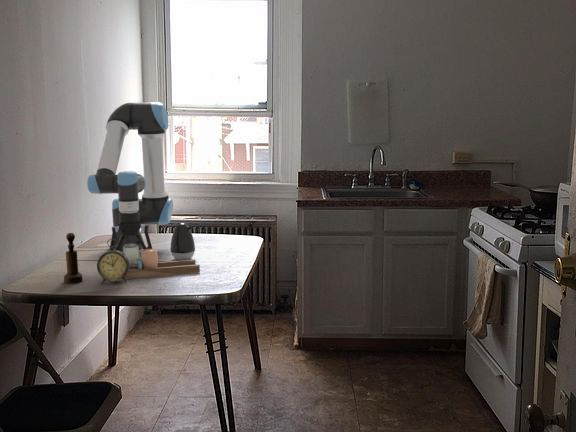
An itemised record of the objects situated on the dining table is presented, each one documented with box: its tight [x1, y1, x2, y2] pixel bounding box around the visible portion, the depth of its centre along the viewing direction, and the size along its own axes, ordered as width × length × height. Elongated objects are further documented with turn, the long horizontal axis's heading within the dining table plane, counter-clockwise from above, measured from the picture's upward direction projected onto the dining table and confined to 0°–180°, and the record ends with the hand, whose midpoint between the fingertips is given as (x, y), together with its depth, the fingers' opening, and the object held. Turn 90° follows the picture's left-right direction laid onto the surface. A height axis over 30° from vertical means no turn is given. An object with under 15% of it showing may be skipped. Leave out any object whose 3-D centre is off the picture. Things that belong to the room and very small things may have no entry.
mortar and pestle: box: [63, 232, 84, 284], centre depth 249 cm, size 7×6×18 cm
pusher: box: [129, 257, 142, 269], centre depth 258 cm, size 7×7×5 cm
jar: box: [122, 244, 140, 265], centre depth 268 cm, size 6×6×10 cm
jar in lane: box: [140, 248, 159, 269], centre depth 260 cm, size 6×6×9 cm
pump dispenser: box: [169, 222, 196, 261], centre depth 284 cm, size 10×10×15 cm
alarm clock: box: [96, 238, 129, 285], centre depth 247 cm, size 11×5×16 cm, turn 95°
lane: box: [124, 259, 201, 280], centre depth 262 cm, size 10×29×3 cm, turn 108°
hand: (131, 268), depth 268 cm, fingers open, 9 cm apart
